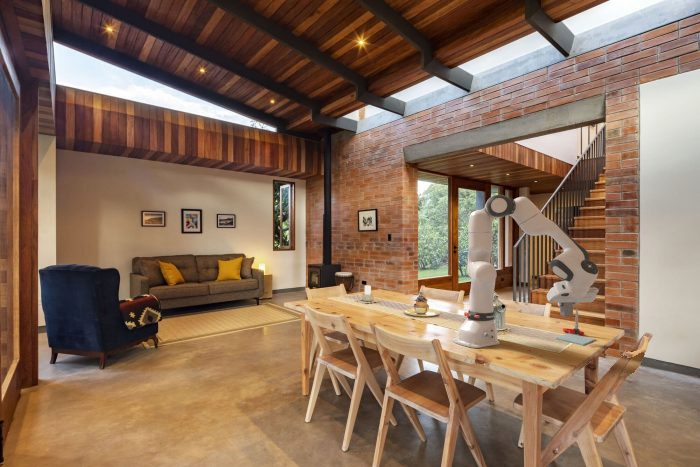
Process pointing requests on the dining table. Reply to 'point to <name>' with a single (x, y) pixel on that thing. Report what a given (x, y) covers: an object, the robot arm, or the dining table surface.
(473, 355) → the dining table surface
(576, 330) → the tow hook
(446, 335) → the dining table surface
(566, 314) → the link block
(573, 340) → the pad
